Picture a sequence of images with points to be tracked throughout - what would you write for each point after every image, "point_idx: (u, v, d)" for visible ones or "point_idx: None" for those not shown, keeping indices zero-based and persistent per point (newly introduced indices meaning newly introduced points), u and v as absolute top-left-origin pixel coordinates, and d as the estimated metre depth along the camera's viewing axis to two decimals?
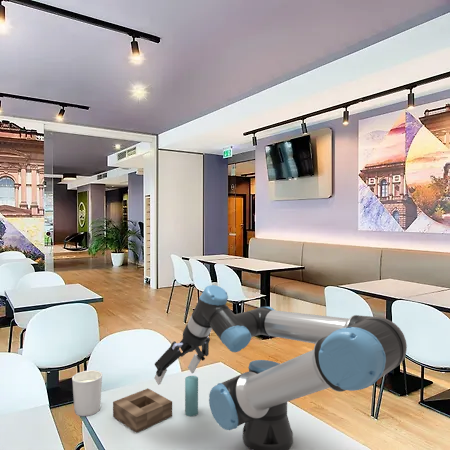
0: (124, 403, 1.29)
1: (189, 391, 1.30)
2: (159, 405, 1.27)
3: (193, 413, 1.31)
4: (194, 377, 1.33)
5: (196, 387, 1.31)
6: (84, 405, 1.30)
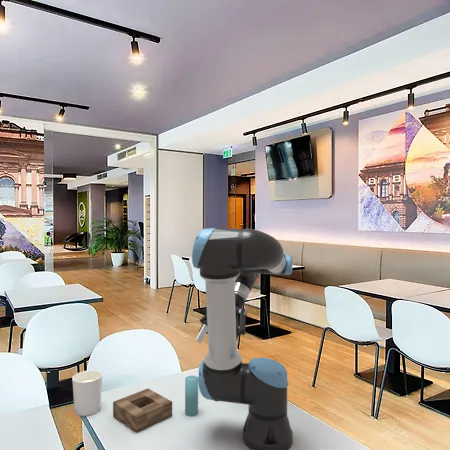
0: (124, 403, 1.29)
1: (189, 391, 1.30)
2: (159, 405, 1.27)
3: (193, 413, 1.31)
4: (194, 377, 1.33)
5: (196, 387, 1.31)
6: (84, 405, 1.30)
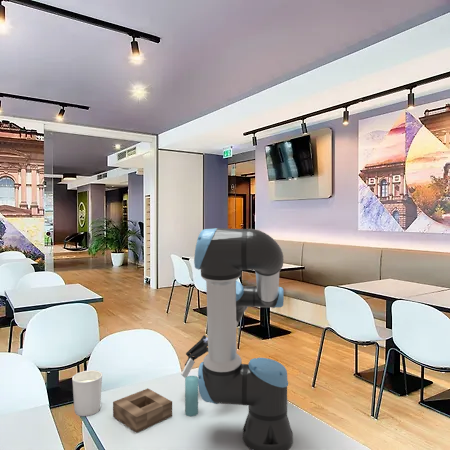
0: (124, 403, 1.29)
1: (189, 391, 1.30)
2: (159, 405, 1.27)
3: (193, 413, 1.31)
4: (194, 377, 1.33)
5: (196, 387, 1.31)
6: (84, 405, 1.30)
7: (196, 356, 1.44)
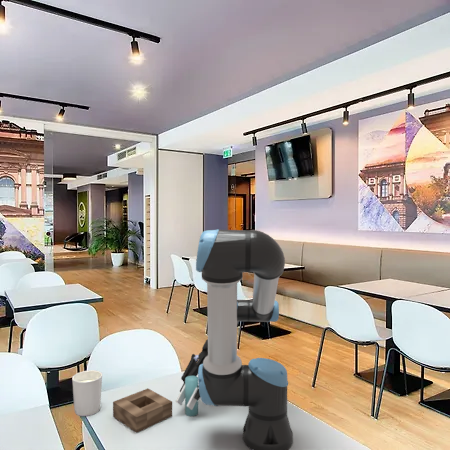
0: (124, 403, 1.29)
1: (189, 391, 1.30)
2: (159, 405, 1.27)
3: (193, 413, 1.31)
4: (194, 377, 1.33)
5: (196, 387, 1.31)
6: (84, 405, 1.30)
7: None
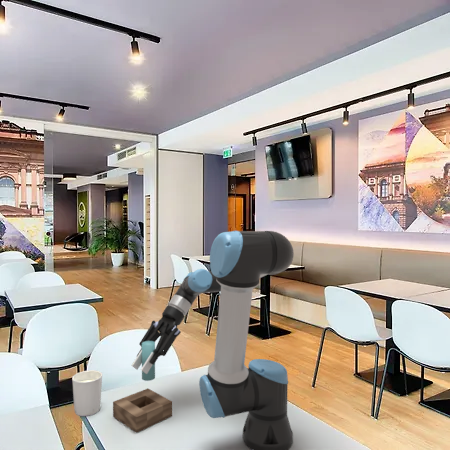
0: (124, 403, 1.29)
1: (145, 356, 1.29)
2: (159, 405, 1.27)
3: (149, 378, 1.30)
4: (151, 342, 1.32)
5: None
6: (84, 405, 1.30)
7: None
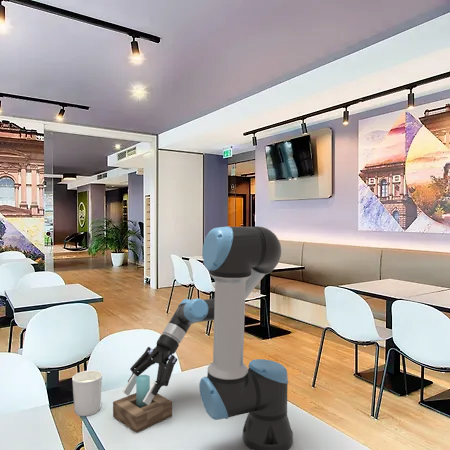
0: (124, 403, 1.29)
1: (139, 390, 1.28)
2: (159, 405, 1.27)
3: None
4: (146, 376, 1.31)
5: (147, 386, 1.29)
6: (84, 405, 1.30)
7: (141, 371, 1.35)
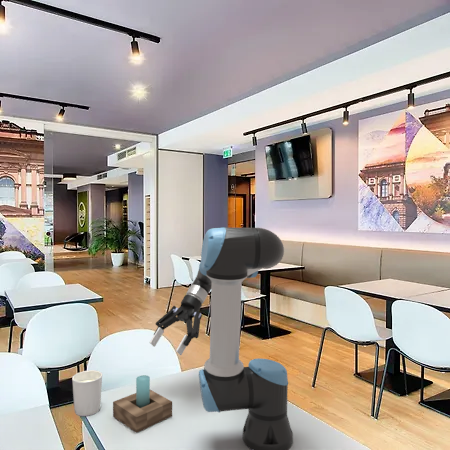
0: (124, 403, 1.29)
1: (139, 391, 1.28)
2: (159, 405, 1.27)
3: None
4: (146, 377, 1.31)
5: (147, 387, 1.29)
6: (84, 405, 1.30)
7: (165, 325, 1.46)
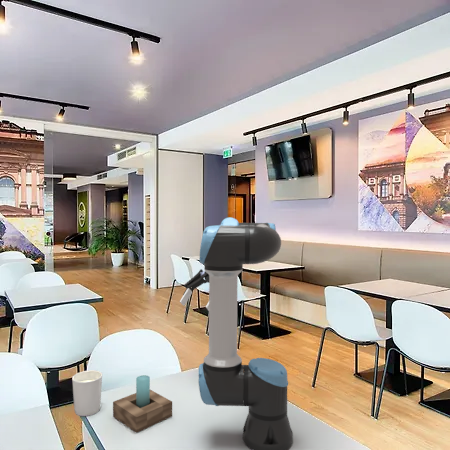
0: (124, 403, 1.29)
1: (139, 391, 1.28)
2: (159, 405, 1.27)
3: None
4: (146, 377, 1.31)
5: (147, 387, 1.29)
6: (84, 405, 1.30)
7: (193, 287, 1.57)
